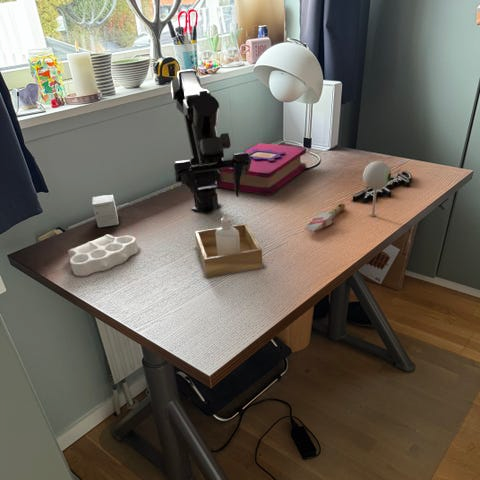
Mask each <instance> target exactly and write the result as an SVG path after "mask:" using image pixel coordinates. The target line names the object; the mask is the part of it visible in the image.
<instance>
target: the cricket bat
mask: <svg viewBox="0 0 480 480" xmlns="http://www.w3.org/2000/svg"><path fill="white" fill-rule="evenodd" d="M345 208H346V205H345V204H344V203H343V202H341V203H339V204H338V205H336V206H335V207H333V208H332V209H330V210H329V211H327V212H323V211H319V212H318V213H317V214H316V215H315V216H314V217H313V219H312V220H310V222H309V223H308V224H307V225H306V226H305V227H304V228H303V230H305V231H310V232H315V231H318V230H320V229H322V228H325V227H327V226H328V227H329V226H331V225H332V224H333V222H332V218H334V217H335V216H336V215H337V214H339V213H340V212H342V211H343V210H345Z"/></svg>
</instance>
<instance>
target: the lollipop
mask: <svg viewBox="0 0 480 480" xmlns="http://www.w3.org/2000/svg"><path fill="white" fill-rule="evenodd" d="M390 177H392V173H391V168H390V166H389V165H388V164H387V163H385V162H384V161H380V160H377V161H372V162H370V163H369V164H367V165H366V167H365V168H364V170H363V172H362V181H363V183H364V185H365V186H366V187H367V188H368V187H369V188H371V189H374V196H373V201H372V206H371V207H372V208H371V217H375V211H376V202H377V201H376V200H377V198H376V192H377V189H381V188H383V187H384V186H386V185H387V184H388V182H389V180H390Z"/></svg>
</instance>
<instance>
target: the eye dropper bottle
mask: <svg viewBox="0 0 480 480" xmlns="http://www.w3.org/2000/svg"><path fill="white" fill-rule="evenodd" d="M232 224H233V223H232V218H231V217H229V216H228V213H227V212H224V213H223V216H222V218H220V227H217V228H218V229H217V230H216V233H215V235H216V245H217V254H218V256H219V255H225V254H231V253H237V252H241V251H240V238H239V231H238V230H237V229H235V228H233V227H232Z"/></svg>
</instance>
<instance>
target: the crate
mask: <svg viewBox="0 0 480 480" xmlns="http://www.w3.org/2000/svg"><path fill="white" fill-rule="evenodd" d="M232 227H233V228H235V229H237V230H238V231H239V238H240V251H241V252H237V253H231V254H225V255H219V256H218V254H217V245H216V235H215V233H216V230H217V229H218V228H219V227H213V228H207V229H202V230H196V231H194V235H195V243H196V249H197V252H198V256H199V259H200V262H201V264H202V267H203V270H204V273H205V277H206V278H212V277H218V276H223V275H229V274H234V273H241V272H245V271H252V270H259V269H262V268H264V267H263V266H264V265H263V249H262V247H261V246H260V244H259V242H258V240H257V239H256V237H255V235H254V233H253V232H252V230H251V229H250V227H249V225H248V223H246V222H244V223H240V224H233V225H232Z"/></svg>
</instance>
